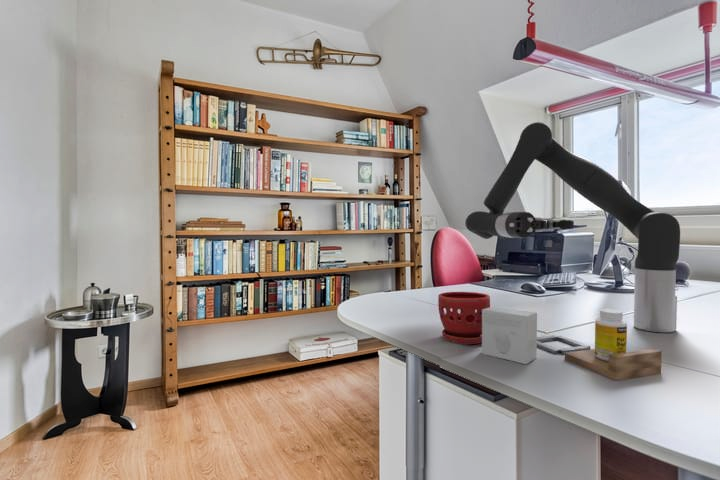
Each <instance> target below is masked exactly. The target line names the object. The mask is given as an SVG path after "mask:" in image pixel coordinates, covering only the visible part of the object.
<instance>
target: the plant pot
mask: <svg viewBox="0 0 720 480" xmlns="http://www.w3.org/2000/svg"><path fill="white" fill-rule="evenodd" d="M437 298H438V301H437V303H438V304H437V305H438V306H437V307H438V313H439V318H440V321H441V325H442V327H443V328H444V329H442V331H441V335H442V337H443V338H445V340H446V341H450V342H453V343H456V344H462V345H473V344H475V345H478V344H480V343H482V309H486V308H489V307H491V296H490V295H489V294H487V293H481V292H471V291H448V292H442V293H439V294H438V296H437ZM444 309H445V311H444ZM459 310H460V312H458V311H459Z"/></svg>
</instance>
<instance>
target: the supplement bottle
mask: <svg viewBox="0 0 720 480" xmlns="http://www.w3.org/2000/svg"><path fill="white" fill-rule="evenodd" d="M623 313H624V312H623V311H621V310H618V309H614V308H613V309H611V308H602V309H600V310H599V317H597V318H596V319H595V320H594V321H595V324H594V325H595V326H594V349H595V356H596V357H597V358H599V359H601V360H604V361H609V355H612V354H619V353H626V352H627V338H628V336H627V335H628V334H627V333H628V323H627V322H626V321H625V320H623V318H624V316H623V315H624V314H623Z"/></svg>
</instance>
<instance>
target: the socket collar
mask: <svg viewBox="0 0 720 480" xmlns="http://www.w3.org/2000/svg"><path fill="white" fill-rule="evenodd" d="M552 341H553V342H554V341H558V342H559V341H560V342H562V343H565V344H568V345H569V346H570V345H571V347H563V348H562V347H561V348H556V347H553V346H552V345H549V344H546V343H547V342H552ZM544 342H546V343H544ZM537 347H538V348H540V349H542V350H544V351H547V352H550V353H551V354H554V355H557V354H561V355H565V353H567V352H575V351H582V350H590V349H591V345H588V344H585V343H583V342H579V341H577V340H573V339H571V338H568V337H565V336H562V335H545V336H537Z"/></svg>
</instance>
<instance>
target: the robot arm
mask: <svg viewBox="0 0 720 480" xmlns="http://www.w3.org/2000/svg"><path fill="white" fill-rule="evenodd" d="M535 160H536V161H537V162H539V163H541V164H543V165H544V166H546V167H547V168H548V169H550V170H551V171H552V172H553V173H554V174H556V175H557V176H558V177H559V179H561V180H563V182H565V183H566V184H567V185H568V186H569V187H570V188H571V189H572V190H574V191H575V192H577V193H578V194H579V195H581V197H583V199H584V198H585V199H586V200H587V201H589V202H590V203H592V204H593V205H595V206H596V207H598V208H599V209H600V210H603V211H604V212H605V213H607V214H609V215H611V216H612V217H613V218H615V219H616V220H617V221H618V222H620V223H621V224H622V225H623V227H625V228H626V229H627V230H628V231H629V232H630V233H631V234H632V235H633V236H634V237H635V238H636V239H637V241H638V242H637V253H636V257H635V259H634V287H633V288H634V292H633V293H634V294H633V295H634V296H633V299H634V300H633V327H634V328H636V329H639V330H643V331H646V332H653V333H654V332H655V333H674V332H675V331H676V330H677V320H678V319H677V316H678V315H677V312H678V311H677V310H678V296H676V281H677V280H676V278H677V277H676V276H677V275H676V274H677V263H678V261H679V258H680V249H681V248H680V247H681V226H680V222H679V221H678V219H677V218H676V217H675V216H673V214H670V213H667V212H664V211H663V212H661V211H660V212H657V211H654V210H653V209H652V208H649V207H648V206H646V205H644V204H643V203H641V202H639V201H638V200H636V198H634V197H633V196H632V195H631V194H630V193H629V192H628V191H627V190H626V189H625V187H624V186H623V185H622V184H621V182H619V181H618V180H617V179H616V178H615V176H613V175H612V174H611V173H610V172H608V171H607V170H605V169H604V168H602V167H601V166H600V165H598V164H596V163H595V162H593V161H591V160H589V159H587V158H585V157H583V156H579V155H578V154H575V153H573V152H571V151H570V150H568V149H567V148H565V147H564V146H563V145H561V144H560V143H559V142H558V141H557V140H556V139H555V138H554V137H553V132H552V129H551V128H550V126H549V125H548V124H547V123H544V122H540V121H537V122H532V123H531V124H529V125H527V126H525V128H524V129H523V130H522V132H521V133H520V135H519V139H518V141H517V145H516V147H515V149H514V151H513V153H512V155H511V157H510V159H509V160H508V163H507V164H506V165H505V168H504V169H503V170H502V172H501V174H500V175H499V177H498V178H497V180H496V181H495V182H494V184H493V186H492V188H491V190H490V191H489V192H488V194H487V195H486V197H485V199H484V201H483V205H484V206H485V207H486V208H487V209H488V210H489V212H487V211H480V210H478V211H476V210H475V211H474V212H471V213H470V214H468V215H467V217H466V218H465V221H464V222H465V227H466V229H467V230H468V231H469V232H471V233H473V234H475V235H477V236H478V237H480V238H482V239H484V240H485V239H486V240H490V239H491V238H492V237H505V238H511V239H512V238H513V239H514V238H516V239H527V238H530V237H531V236H533V235H534V234H535V233H539V232H540V233H541V232H553V231H554V230H562V231H563V230H572V229H574V227H575V225H574V223H575V222H574V219H554V218H551V217H549V218H546V217H545V218H544V217H543V218H542V217H535V216H534V214H532V212H529V211H513V212H506V213H504V211H505V209H506V208H507V206H508V205H509V203H510V202H511V201H512V199H513V197H514V196H515V193H516V192H517V190H518V188H519V186H520V184H521V182H522V180H523V178H524V176H525V175H526V173H527V171H528V170H529V168H530V167H531V165H532V164H533V162H535Z"/></svg>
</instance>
